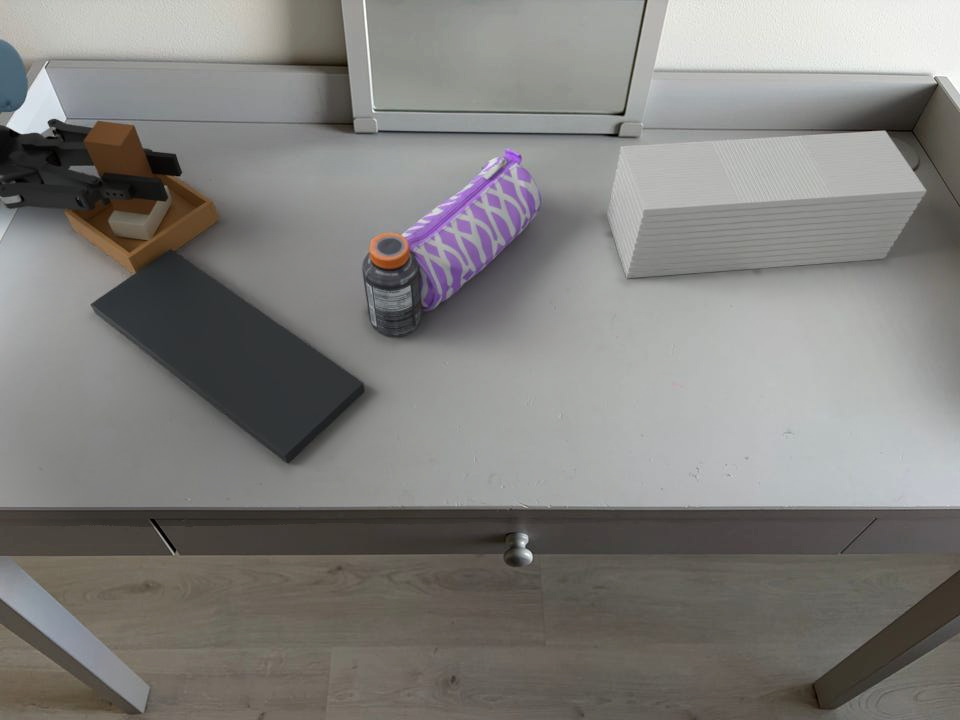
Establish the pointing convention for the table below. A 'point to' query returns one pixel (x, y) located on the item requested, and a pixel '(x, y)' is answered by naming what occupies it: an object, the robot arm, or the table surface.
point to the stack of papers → (759, 202)
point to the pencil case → (472, 227)
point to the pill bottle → (392, 285)
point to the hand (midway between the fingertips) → (170, 177)
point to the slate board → (230, 353)
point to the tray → (174, 231)
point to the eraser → (125, 155)
